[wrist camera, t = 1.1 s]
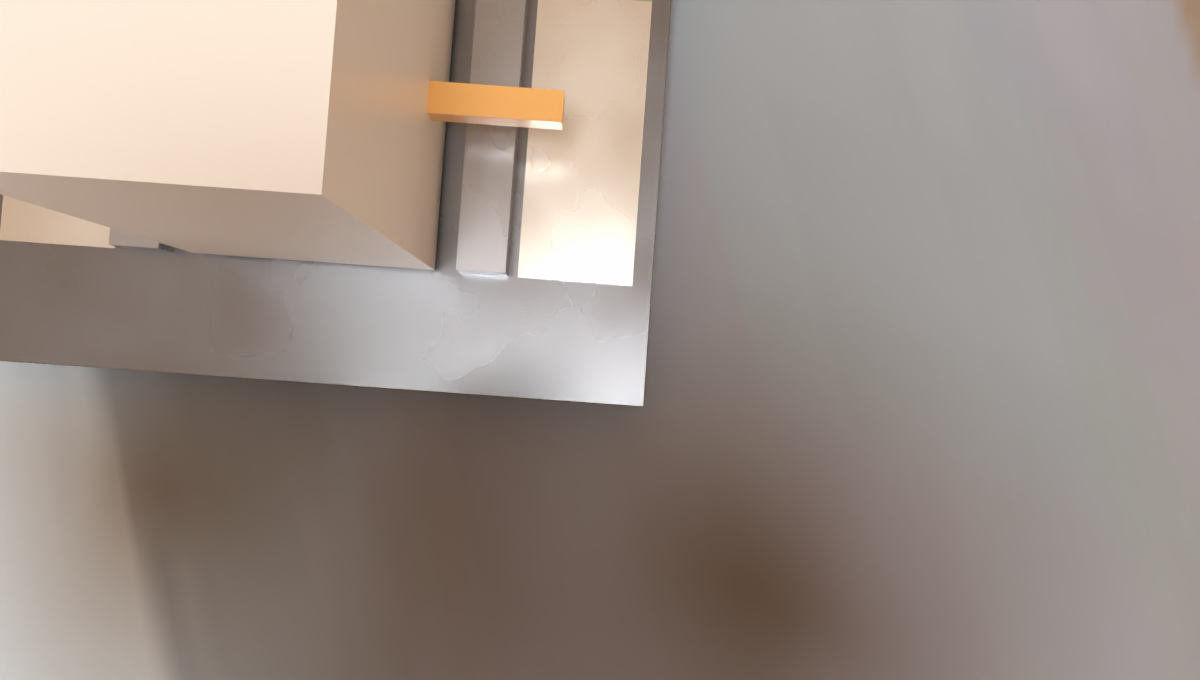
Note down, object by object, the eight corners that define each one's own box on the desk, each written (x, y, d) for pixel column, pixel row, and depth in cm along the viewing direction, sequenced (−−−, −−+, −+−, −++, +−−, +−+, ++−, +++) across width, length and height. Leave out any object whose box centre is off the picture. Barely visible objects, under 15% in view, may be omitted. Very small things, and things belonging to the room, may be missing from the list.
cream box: (555, 279, 21) (529, 209, 12) (71, 243, 21) (-306, 149, 12) (576, -8, 22) (565, -279, 13) (96, -43, 22) (-257, -341, 13)
